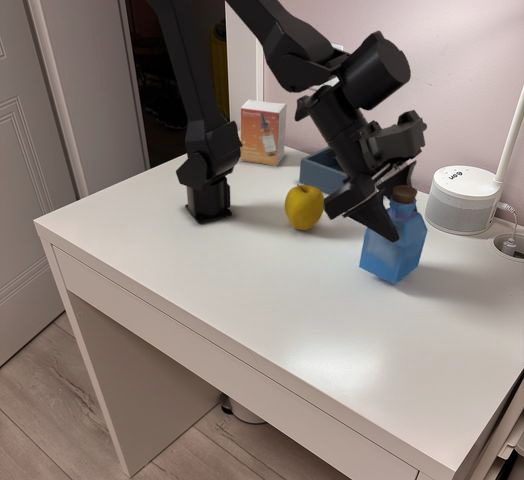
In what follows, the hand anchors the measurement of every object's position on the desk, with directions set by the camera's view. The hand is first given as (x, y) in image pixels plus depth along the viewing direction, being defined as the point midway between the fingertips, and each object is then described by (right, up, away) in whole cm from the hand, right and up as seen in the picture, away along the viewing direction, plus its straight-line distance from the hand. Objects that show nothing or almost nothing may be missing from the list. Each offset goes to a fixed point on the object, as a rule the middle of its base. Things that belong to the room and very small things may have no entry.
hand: (406, 230), depth 73 cm
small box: (-20, +23, +37) cm, 48 cm away
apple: (-13, +4, +17) cm, 21 cm away
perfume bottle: (-1, -4, +5) cm, 7 cm away
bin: (-5, +16, +29) cm, 34 cm away
